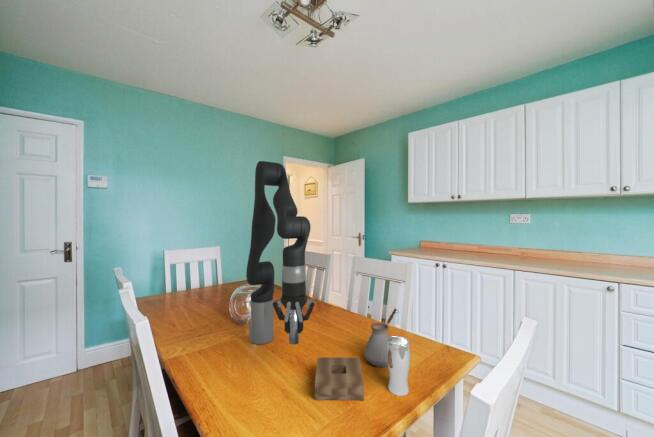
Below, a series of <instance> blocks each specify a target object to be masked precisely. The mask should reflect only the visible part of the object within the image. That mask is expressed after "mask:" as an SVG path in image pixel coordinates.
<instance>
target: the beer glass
mask: <svg viewBox="0 0 654 437" xmlns="http://www.w3.org/2000/svg"><path fill="white" fill-rule="evenodd" d="M386 356H387V364H388V366H387V368H388V375H389V378H388V385H387V389H388V391H389V392H390V393H391V394H392V395H394V396H398V397H403V396H407V395H408V393H410V391H409V390H410V388H409V383H408V375H409V369H410V364H411V349H410V340H409V339H408V338H406V337H404V336H399V335H392V336H391V335H390V336H389V338H388V339H387V349H386Z"/></svg>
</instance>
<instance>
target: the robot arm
mask: <svg viewBox="0 0 654 437" xmlns="http://www.w3.org/2000/svg"><path fill="white" fill-rule="evenodd" d="M254 172H255V173H254V200H253V201H254V203H253V213H252V219H251V220H252V221H251V234H250V244H249V245H250V246H249V253H248V259H247V264H246V265H247V266H246V272H245V273H246V274H245V275H246V276H245V277H246V281H247V283H248V285H250V286H257V285H258V286H259V285H261V286H259V288H258V289H256V290H254V291H253V292H251V293H250V319H249V343H253V344H255V345H266V344H268V343H270V342H272V341H274V311H275V314H276V316H277V318H278V320H279V321H283V322H284V332H286V334H289V313H290V309H297V314H298V318H299V322H298V334H299V335H300V334H302V333H303V331H304V322H305V321H308V320H309V319H310V316H311V314H312V312H313V309H314V307H315V304H316V303H315V300H310V299H308V297H307V295H306V294H307V289H306V288H307V287H306V285H307V280H306V279H307V272H306V248H307V244H308V241H309V237H310V234H311V222H310V220H309V219H308V218H307V217H306V216H302V215H300V216H298V207H297V204H296V203H295V201H294V199H293V196H292V193H291V190H290V189H291V188H290V183H289V180H288V175H287V171H286V168H285V166H284V165H283V164H282V163H279V162H275V161H274V162H272V161H266V160H260V161H259V160H258V162H257V163H256V167H255V171H254ZM266 186H268V187H270V186H271V187H278V188H277V190H276V191H275V193H274V194H273V198H272V204H273V208H274V210H275V213H276V214H275V213H274V211H273V209H272V207H271V206H270V204H269V201H268V199H267V197H266V192H265V190H266V189H265V187H266ZM275 215H276V216H275ZM276 217H277V221H276ZM276 222H277V223H276ZM275 230H276V232H277V235H278V236H279V238H281V239H284V240H291V239H292V240H293V239H296V240H295V243H293V244H291V245H288V246H284V248H283V250H282V270H281V297H280V299H278V300H277V299H276V300H274V292H275V268H274V265H273V263H272V262H271V261H267V260H266V261H260V259H261V256H262V254H263V252H264V251H265V249H266V248H267V246H268V244H269V243H270V242H271V241H272V240H273V236H274V235H275ZM306 304H307V305H306ZM282 305H283V307H284V309H285V313H284V312H283V309H282V307H281V306H282ZM305 305H306V307H307V308H308V309H307V311H306V313H305V315H304V313H303V312H304V311H303V308H304V306H305Z"/></svg>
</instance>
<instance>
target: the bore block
mask: <svg viewBox="0 0 654 437" xmlns="http://www.w3.org/2000/svg"><path fill="white" fill-rule="evenodd" d="M316 359H317V360H316V362H317V363H316V368H315V369H316V370H315V378H314V379H315V380H314V401H365V388H364V387H365V386H364V384H365V382H364V378H363V377H364V376H363V372H362V365H361V361H360V357H317V358H316Z"/></svg>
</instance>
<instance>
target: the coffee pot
mask: <svg viewBox="0 0 654 437" xmlns="http://www.w3.org/2000/svg"><path fill="white" fill-rule="evenodd" d="M397 311H398V312H397ZM398 313H400V311H399V310H398V309H397V308H394V309H393V310H392V312H391V314H390V316H389V317H388V319H387V322H386V323H384V322H374V323H372V324H371V325H370V328H371V330H372V332H371V334H370V336H369V338H368V341H367V343H366V346H365V348H364V350H363V355H364V357H365V359H366V360H367V361H368V362H369V363H370V364H371V365H372V366H375V367H378V368H385V367H386V368H387V367H388V364H387V356H386V349H387V339H388V338H389V337H390V336H389V334H388V331H389V329H390V326H389V325H390V323H391V321H392V320H393V318H394V316H395V315H396V314H398Z"/></svg>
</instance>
